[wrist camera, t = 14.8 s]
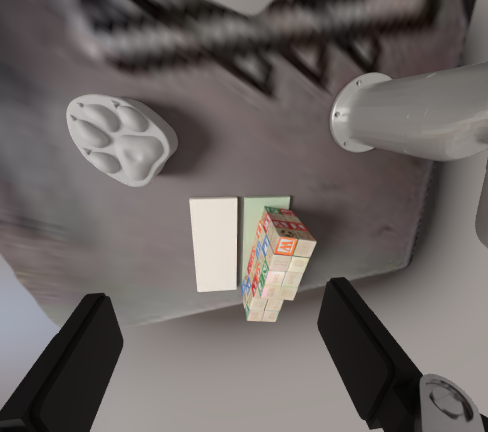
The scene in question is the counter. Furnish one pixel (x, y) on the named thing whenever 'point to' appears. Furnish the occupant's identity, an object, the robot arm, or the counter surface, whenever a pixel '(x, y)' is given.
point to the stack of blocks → (275, 263)
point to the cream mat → (214, 242)
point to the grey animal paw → (121, 137)
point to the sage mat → (257, 220)
